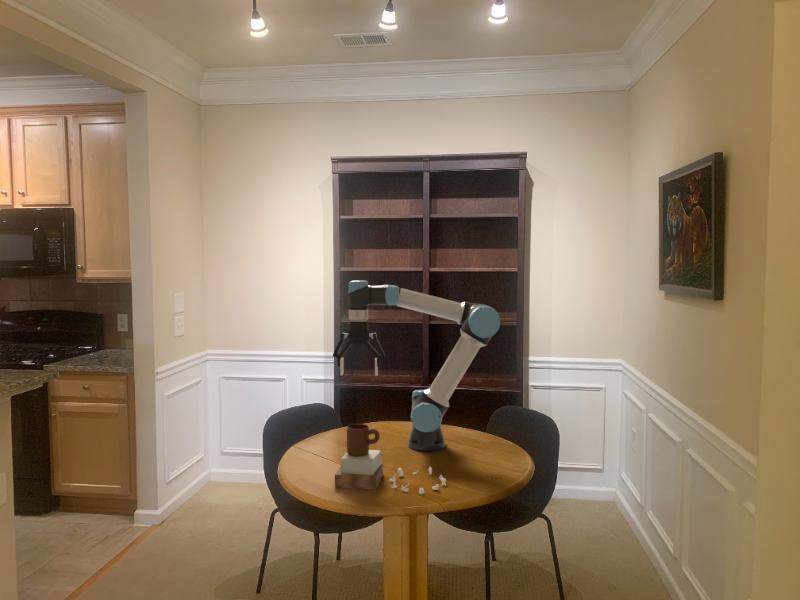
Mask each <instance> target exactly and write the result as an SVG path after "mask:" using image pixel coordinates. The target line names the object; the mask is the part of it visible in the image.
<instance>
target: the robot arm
mask: <svg viewBox="0 0 800 600" xmlns="http://www.w3.org/2000/svg"><path fill="white" fill-rule="evenodd" d="M347 294H348V298H347V299H348V320H349V322H348V333H345V332H342V333H340V338H339V341H338V343H337V345H336V347H335V349H334V352H333V353H332V357H333V358H336V359H337V367H339V369H340V371H339V372H340V376H343V375H344V370H345V367H344V366H345V365H344V362H345V361H344V357H343V355H344V354H345V353H346V352H347V351H348V350H349V348H350V347H351V346H352V345H355V346H356V345H362V346H363V345H365V346H366V348H368V350H369V351H370V352H371V353H372V354H373V355H374V357H375V358H374V376H375V377H377V376H378V375H379V368H380V367H381V361H382V360H381V359H382V358H384V357H385V356H386V353H385V351H384V349H383V347H382V345H381V343H380V341H379V338H378V335H377V332H372V333H370V332H369V321H368V320H369V306H396V307H398V308H399V307H400V308H403V309H407V310H412V311H415V312H419V313H422V314H427V315H431V316H435V317H438V318H442V319H445V320H451V321H454V322H456V323H457V324H458V325H460V326H461V328H460V329H459V331H460V336H459V338H458V340H457V342H456V343H455V345H454V347H453V349H452V350H451V352H450V354H449V355H448V356H447V358H446V360H445V362H444V363H443V365H442V367H441V368H440V370H439V372H438V373H437V375H436V376H435V378H434V380H433V381H432V383H431V385H430V386H429V387H428V388H425V389H415V390H414V391H412V396H411V401H412V402H411V403H412V404H411V412H410V421H411V423H412V428H411V431H410V434H409V437H408V442H407V443H408V447H409V448H411V449H413V450H415V451H421V452H433V451H439V450H442V449H444V448H445V447H446V439H445V436H444V433H443V430H442V429H443V428H442V421H443V417H444V415H445V414H446V412H447V410H448V409H449V407H450V402H449V400H450V398H451V397H452V395H453V393H454V392H455V390H456V388H457V387H458V384H459V383H460V382H461V380H462V379H463V377H464V375H465V374H466V372H467V370H468V368H469V367H470V365H471V364H472V362H473V361H474V359H475V357H476V356H477V354H478V352H479V351H480V349H481V348H483V347H486V346H488V343H489V342H490V340H491V339H492V337H494V335H495V334H496V333H497V332H498V331H499V329H500V327H501V318H500V315H499V313H498V312H497V310H496V309H495V308H493V307H492V306H490V305H488V304H485V303H474V302H468V301H462V302H458V301H454V300H450V299H446V298H443V297H439V296H434V295H431V294H430V295H429V294H427V293H422V292H419V291H414V290H410V289H406V288H403V287H402V288H401V287H399V286H398V285H392V284H387V283H385V284H382V285H369V282H368V280H351V281H349V282H348V292H347ZM347 338H348V339H349V341H348V343H347V344H346V345H345V346H344V347H343V348H342V345H343V343H344V342H345V339H347ZM369 338H370V339H371V340H373V343H374V344H375V346H376V348H375V347H374V346H373V345H372V344H371V343H370V341H369ZM341 348H342V349H341ZM376 349H377V350H378V351H377V350H376ZM340 350H341V351H340ZM339 352H340V353H339Z"/></svg>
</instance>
